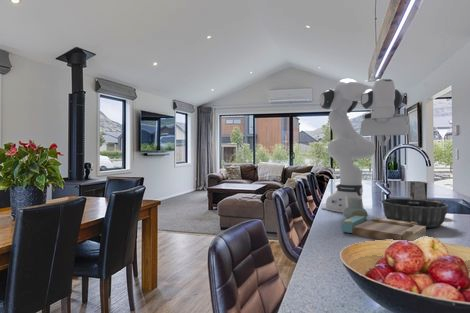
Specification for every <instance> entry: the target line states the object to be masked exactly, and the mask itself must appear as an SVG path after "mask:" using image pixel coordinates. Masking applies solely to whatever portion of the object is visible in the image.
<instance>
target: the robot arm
mask: <svg viewBox="0 0 470 313" xmlns="http://www.w3.org/2000/svg"><path fill="white" fill-rule="evenodd" d="M359 102H360V103H361V106H362V107H363V108H364V109H366V110H372V111H369V112H367V113H364V114H363V115H362V119H363V120H362V121H361V122H360V128H359V129H360V130H359V132H360V133H359V132H358V131H357V130H356V129H355V127H354V126H353V125H352V123H351V120H350V119H349V117H348V114H349V113H351V112H353V110H354V109H355V108H356V107H357V105H358V103H359ZM402 103H403V95H402V93H401V92H400V91H399V89H396V87H395V82H394V80H393V79H391V78H390V79H389V78H388V79H387V78H378V79H376V80H375V81H374V83H373V85H372V86H371V85H368V84H365V83H363V82H362V81H361V82H360V81H358V80H355V79H352V78H344V79H341V80H339V81H338V82H337V83H336V86H335V88H334V89H332V88H329V89H328V90H326V91H323V92H322V93H321V94H320V97H319V104H320V107H321V108H322V109H325V110H331V111H330V112H329V114H328V121H329V126H330V128H331V131H332V133H333V136H334V138H335V139H331V140H330V141H329V143H328V145H327V153H328V155H329V157H330V158H332V159H333V160H334V161H335V163H336V164H337V165H338V169H339V180H340V181H339V184H337V185H336V186H335V189H336V191H334V192H333V193H331V194H330V195H329V196H328V197H327V198H326V201H325V204H324V205H322V206H321V210H326V211H333V212H338V213H341V214H343V211H344V209H346V208H347V207H349V198H360V199H362V200H363V191H364V190H363V188H364V187H363V184H362V182H363V180H362V179H363V177H362V174H363V172H362V169H361V168H360V167H359V166H357V165H355V164H354V163H353V160H363V159H369V158H372V157H373V155H375V152H376V145H375V143H374V141H373V140H371V139H368V138H366V137H365V136H367V137H369V136H371V137H372V136H373V137H376V139H377V140H378V143H379V147H381V146H382V147H383V146H384V147H387V146H388V142H389V141H390V139H391V136H408V134H409V132H410V131H409V122H410V121H409V120H410V118H409V115H407V114H405V113H398V114H397V113H396V112H395V111H396V110H397V109H398V108H399V107H400V106H401V105H402ZM382 136H385V140H384V141H383V140H382ZM362 208H363V209H365V207H364V203H363V201H362Z"/></svg>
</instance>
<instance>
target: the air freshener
mask: <svg viewBox="0 0 470 313" xmlns="http://www.w3.org/2000/svg"><path fill="white" fill-rule="evenodd" d="M362 202H363V198H362V199H360V198H349V207H347V208H346V209H344V211H343V213H342V215H343V217H344V218H345V219H346V220H347V219H349V218H351V217H353V216H355V215H356V216H359V215H362V216H364V217H365V218H366V219H367V217H368V211H367V210H366V209H365V208H364V209H363V208H362Z"/></svg>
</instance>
